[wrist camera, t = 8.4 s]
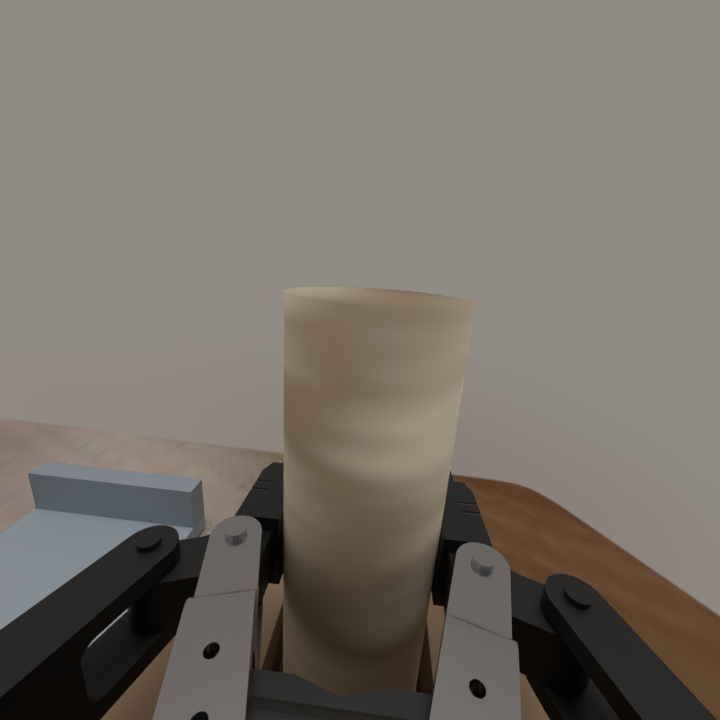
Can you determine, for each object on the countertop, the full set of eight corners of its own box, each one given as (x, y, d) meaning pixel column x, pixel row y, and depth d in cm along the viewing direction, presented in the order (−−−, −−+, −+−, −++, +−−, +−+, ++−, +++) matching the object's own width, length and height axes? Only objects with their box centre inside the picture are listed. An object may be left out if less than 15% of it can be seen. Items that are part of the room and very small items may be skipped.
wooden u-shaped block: (522, 648, 16) (536, 599, 15) (648, 1014, 8) (689, 954, 7) (193, 602, 17) (189, 554, 16) (27, 891, 9) (3, 826, 8)
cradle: (205, 526, 22) (201, 479, 21) (-1, 820, 10) (-30, 745, 9) (57, 508, 23) (47, 461, 22) (-291, 766, 11) (-346, 691, 10)
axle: (402, 677, 15) (455, 294, 10) (407, 846, 10) (503, 316, 6) (300, 662, 15) (308, 283, 10) (264, 822, 11) (253, 297, 6)
